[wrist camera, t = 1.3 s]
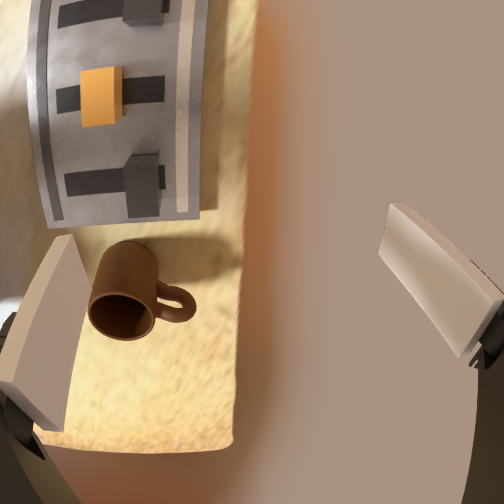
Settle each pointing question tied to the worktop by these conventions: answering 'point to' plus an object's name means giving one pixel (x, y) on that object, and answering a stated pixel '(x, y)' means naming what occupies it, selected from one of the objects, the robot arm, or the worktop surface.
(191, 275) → the worktop surface
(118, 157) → the panel
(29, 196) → the worktop surface
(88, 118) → the tall orange block
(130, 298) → the mug
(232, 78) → the worktop surface
